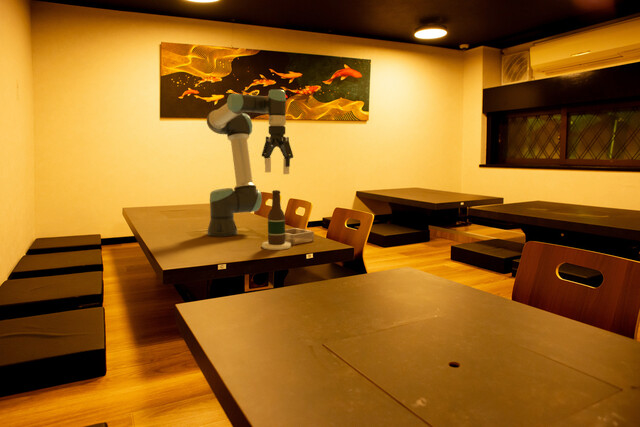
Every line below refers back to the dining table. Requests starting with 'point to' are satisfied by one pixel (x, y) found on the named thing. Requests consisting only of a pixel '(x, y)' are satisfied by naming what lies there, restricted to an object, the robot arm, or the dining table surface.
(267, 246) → the ceramic plate
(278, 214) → the beer bottle
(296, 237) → the box
